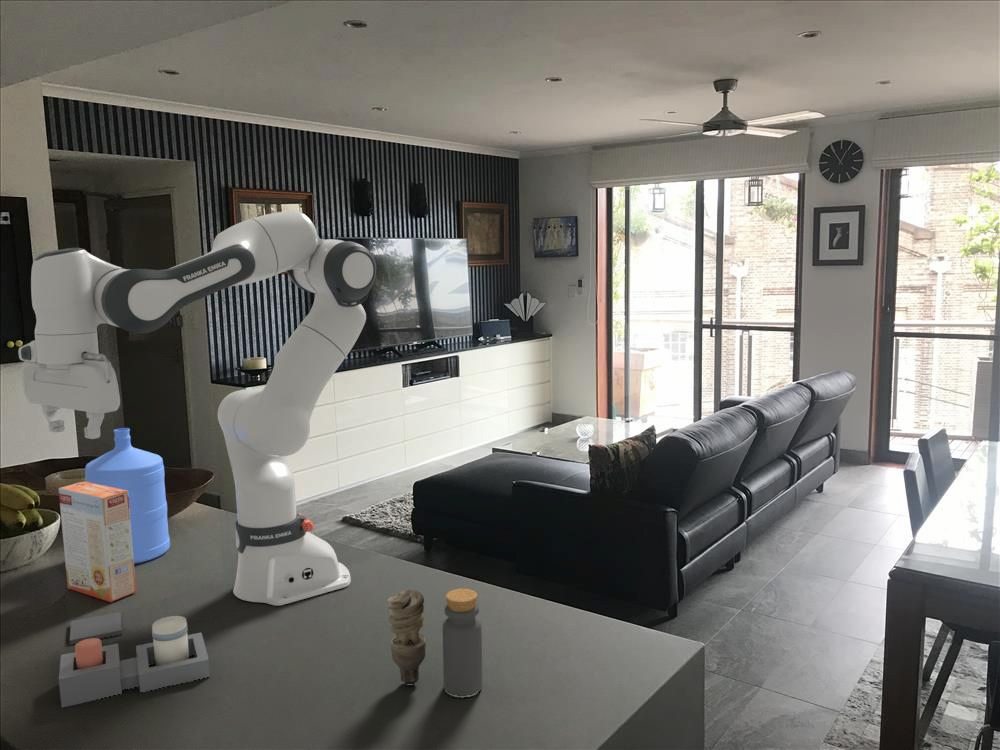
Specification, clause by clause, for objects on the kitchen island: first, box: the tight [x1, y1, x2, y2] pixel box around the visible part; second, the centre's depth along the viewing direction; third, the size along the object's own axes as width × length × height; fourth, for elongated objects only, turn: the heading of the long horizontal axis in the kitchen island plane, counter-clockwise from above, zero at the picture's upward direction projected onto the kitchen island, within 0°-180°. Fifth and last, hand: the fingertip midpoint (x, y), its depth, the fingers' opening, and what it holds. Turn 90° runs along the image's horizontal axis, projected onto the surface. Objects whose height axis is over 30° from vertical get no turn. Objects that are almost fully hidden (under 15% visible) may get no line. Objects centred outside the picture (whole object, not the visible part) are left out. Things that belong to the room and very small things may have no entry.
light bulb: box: [386, 589, 427, 685], centre depth 122 cm, size 6×6×15 cm
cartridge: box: [151, 615, 190, 667], centre depth 127 cm, size 5×5×8 cm
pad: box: [69, 611, 123, 645], centre depth 142 cm, size 8×8×1 cm
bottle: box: [442, 588, 483, 696], centre depth 121 cm, size 6×6×15 cm
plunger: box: [74, 638, 103, 670], centre depth 122 cm, size 4×4×5 cm
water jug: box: [84, 427, 171, 565], centre depth 175 cm, size 16×16×28 cm
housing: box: [58, 632, 211, 709], centre depth 125 cm, size 20×10×4 cm, turn 116°
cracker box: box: [58, 481, 137, 603], centre depth 157 cm, size 14×6×21 cm, turn 59°
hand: (74, 434), depth 131 cm, fingers open, 8 cm apart
